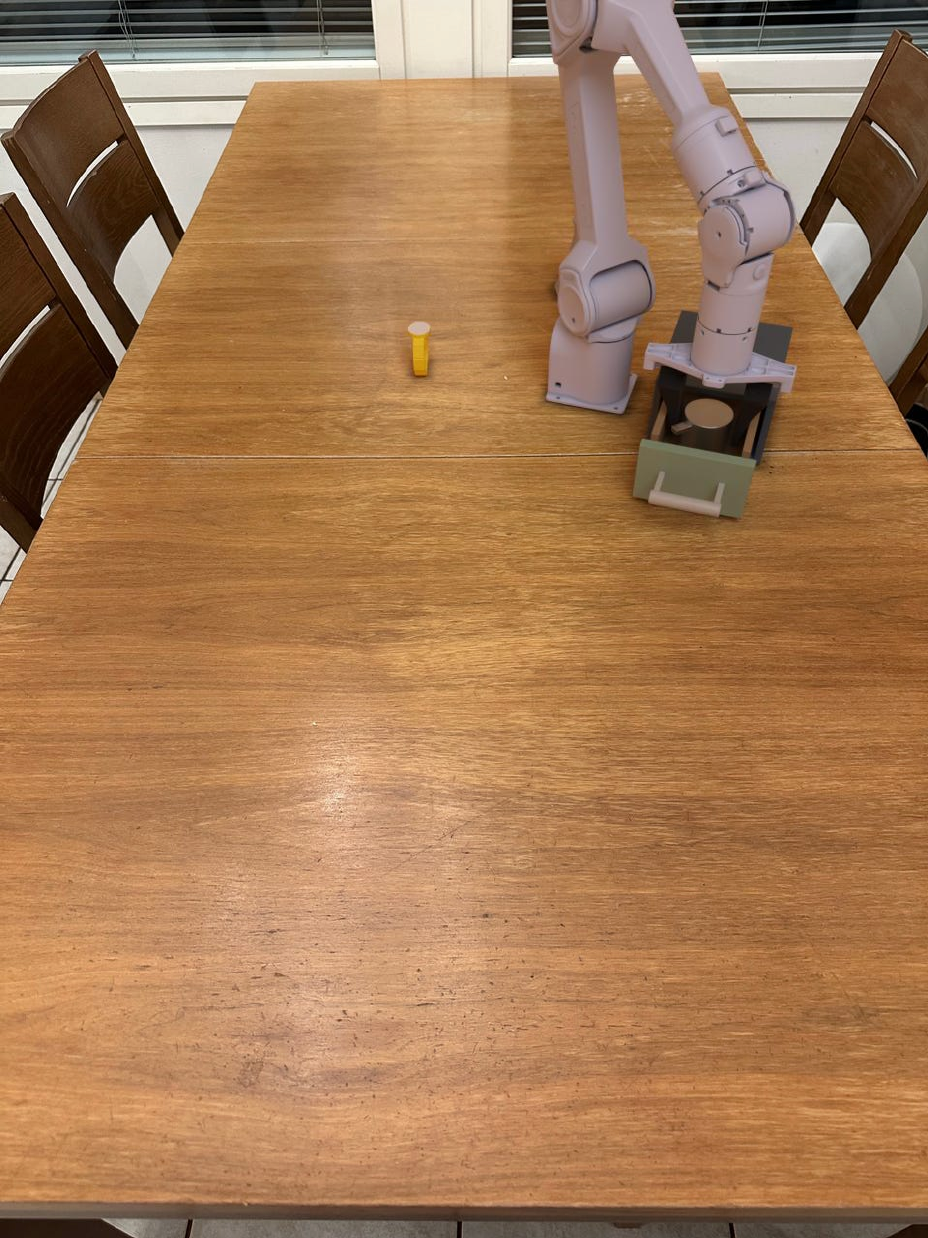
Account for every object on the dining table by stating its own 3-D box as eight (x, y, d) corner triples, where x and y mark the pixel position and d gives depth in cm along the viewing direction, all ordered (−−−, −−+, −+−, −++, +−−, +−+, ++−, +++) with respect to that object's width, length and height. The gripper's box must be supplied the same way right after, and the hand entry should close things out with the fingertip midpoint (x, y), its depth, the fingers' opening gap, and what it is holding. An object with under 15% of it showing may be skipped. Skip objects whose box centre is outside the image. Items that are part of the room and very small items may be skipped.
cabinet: (759, 465, 104) (776, 400, 98) (646, 444, 107) (655, 379, 101) (776, 390, 113) (793, 326, 107) (671, 373, 116) (681, 309, 110)
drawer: (734, 548, 94) (748, 496, 89) (622, 524, 97) (629, 473, 92) (759, 440, 106) (772, 389, 100) (658, 421, 108) (666, 371, 103)
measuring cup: (705, 438, 104) (714, 393, 100) (732, 464, 101) (743, 418, 97) (653, 456, 102) (661, 411, 98) (680, 483, 99) (688, 437, 95)
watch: (412, 355, 120) (409, 313, 116) (434, 355, 120) (432, 313, 115) (409, 383, 116) (405, 340, 112) (431, 383, 116) (428, 340, 112)
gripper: (643, 328, 89) (628, 444, 99) (802, 353, 85) (770, 471, 95) (658, 291, 93) (643, 406, 103) (810, 313, 90) (779, 430, 100)
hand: (705, 434), depth 100 cm, fingers open, 6 cm apart
